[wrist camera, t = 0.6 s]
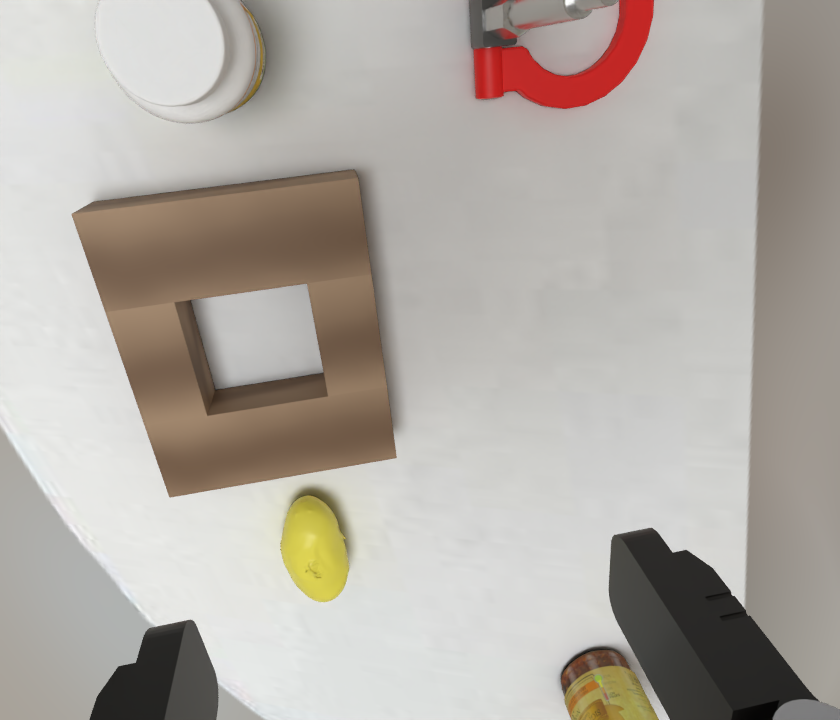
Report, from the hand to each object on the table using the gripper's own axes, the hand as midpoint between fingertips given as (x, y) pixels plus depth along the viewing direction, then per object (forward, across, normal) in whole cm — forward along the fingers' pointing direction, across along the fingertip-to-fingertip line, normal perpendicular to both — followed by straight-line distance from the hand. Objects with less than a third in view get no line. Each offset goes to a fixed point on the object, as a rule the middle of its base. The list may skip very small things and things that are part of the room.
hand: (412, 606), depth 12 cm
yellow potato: (+24, +5, +19) cm, 31 cm away
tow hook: (+25, -12, -10) cm, 29 cm away
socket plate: (+24, +6, +4) cm, 25 cm away
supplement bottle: (+25, +5, -10) cm, 27 cm away
